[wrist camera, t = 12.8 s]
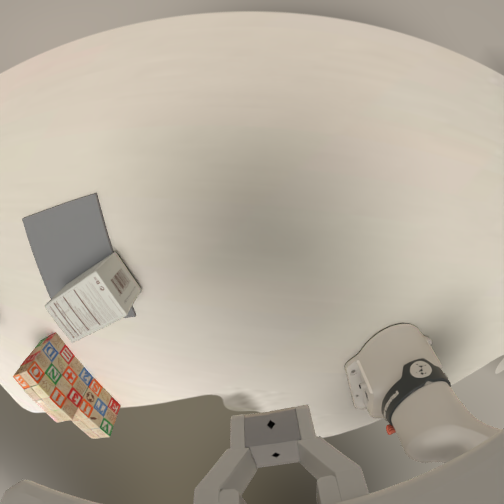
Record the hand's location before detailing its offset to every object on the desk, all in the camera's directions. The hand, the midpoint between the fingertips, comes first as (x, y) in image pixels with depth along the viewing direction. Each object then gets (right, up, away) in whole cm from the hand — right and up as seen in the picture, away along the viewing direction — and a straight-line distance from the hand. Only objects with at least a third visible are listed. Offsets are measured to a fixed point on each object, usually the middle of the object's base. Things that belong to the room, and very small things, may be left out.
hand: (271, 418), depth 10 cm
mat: (-29, +4, +30) cm, 42 cm away
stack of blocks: (-36, -19, +39) cm, 57 cm away
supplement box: (-18, +3, +27) cm, 33 cm away
